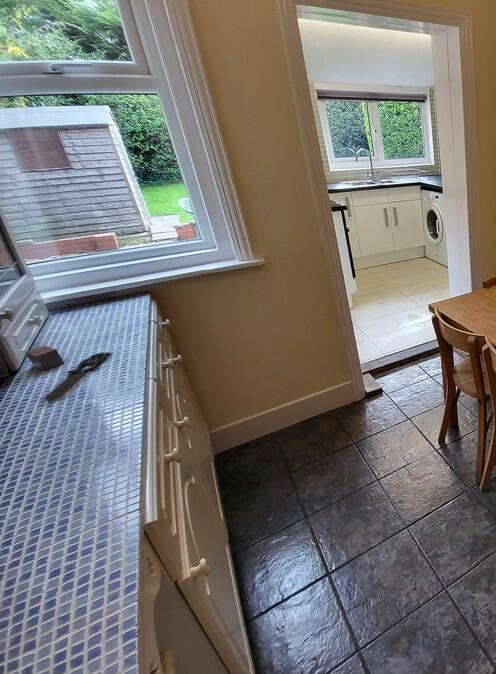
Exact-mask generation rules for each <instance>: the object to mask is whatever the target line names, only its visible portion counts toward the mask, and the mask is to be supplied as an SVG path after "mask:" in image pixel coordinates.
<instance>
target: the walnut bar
mask: <svg viewBox="0 0 496 674" xmlns="http://www.w3.org/2000/svg"><path fill="white" fill-rule="evenodd" d="M24 353H25V355H26V356H27V358H28V360H29V361H30V363H31V364H32V366H33V367H35V368H37V369H39V370H43V371H45V372H46V371H49V370H52V369H54V368H56V367H58V366H61V365H64V364H65V362H64V360H63V358H62V356H61V355H60V354H59V352H58V350H57V349H56V348H53V347H50V346H47V345H42V346H39V347H36V348H32V349H30V350H27V351H24Z"/></svg>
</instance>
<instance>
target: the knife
mask: <svg viewBox="0 0 496 674" xmlns="http://www.w3.org/2000/svg"><path fill="white" fill-rule="evenodd" d="M110 356H112V354H111V352H108V351H107V352H98V353H95V354H92V355H90V357H87V358H85V359H83V360H82V361H81V362H80V363H78V364H77V366H76V369H71V370H67V371H66V373H67V374H70V375H69V376H68V377H67V378H66V379H64V380H63V381H62V382H61V383H60V384H59V385H57V386H56V388H54V389H53V390H52V391H51V392H50V393H49V394H47V395H46V396H45V398H46V399H47V401H48V402H49V403H48V404H49V405H51V404H53V403H55V402H57V401H59V400H61V399H63V398H65V397H67V395H69V394H70V392H71V391H72V390H74V389H75V388H76V387H77V386H78V385H79V384H80V383H81V382H82V381H84V379H85V378H86V377H87V376H88V375H89V374H90V373H91V372H93V371H94V370H95V369H98V368H100V365H98V364H99V363H100V364H104V363H105V361H106V360H108V357H110ZM90 361H92V362H90ZM85 365H86V366H90V367H88V368H84V369H83V370H82V368H83V367H84V366H85Z"/></svg>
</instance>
